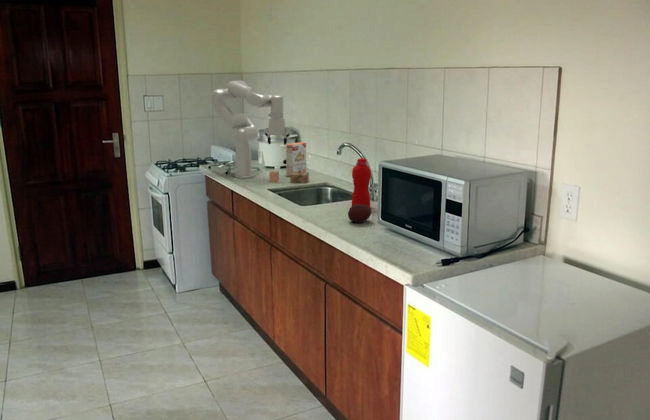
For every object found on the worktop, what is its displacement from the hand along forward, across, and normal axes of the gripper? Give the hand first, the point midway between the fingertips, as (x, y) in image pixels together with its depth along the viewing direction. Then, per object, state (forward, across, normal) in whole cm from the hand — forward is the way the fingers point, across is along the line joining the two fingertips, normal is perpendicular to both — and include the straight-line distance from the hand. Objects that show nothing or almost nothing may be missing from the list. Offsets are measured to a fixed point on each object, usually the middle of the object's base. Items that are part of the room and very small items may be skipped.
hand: (277, 144), depth 326 cm
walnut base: (+22, +14, -1) cm, 27 cm away
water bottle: (+22, +56, -62) cm, 86 cm away
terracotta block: (+23, -2, -2) cm, 23 cm away
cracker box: (+23, +8, +19) cm, 31 cm away
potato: (+22, +57, -86) cm, 106 cm away
